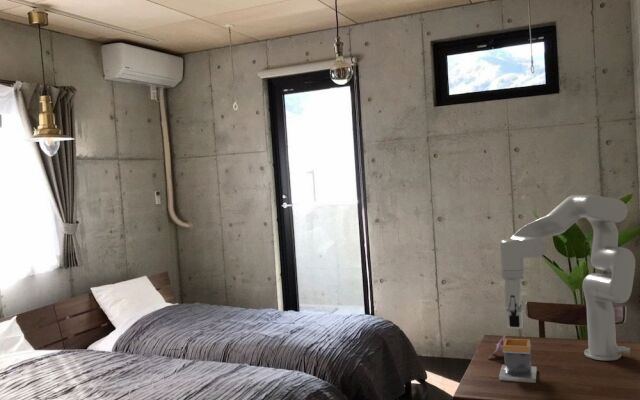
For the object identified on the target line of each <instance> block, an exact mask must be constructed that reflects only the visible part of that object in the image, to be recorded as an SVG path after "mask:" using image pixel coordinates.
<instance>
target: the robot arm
mask: <svg viewBox="0 0 640 400" xmlns="http://www.w3.org/2000/svg"><path fill="white" fill-rule="evenodd" d="M628 213H629V211H628V205H626V203H625V202H624V201H622V200H620V199H618V198H613V197H606V196H601V195H597V194H572V195H569V196H568V197H566V198H565V199H564V200H562V202H561V203H559V204H558V205H556V207H555V208H554V209H552V210H551V211H550V212H549V213H548V214H546V215H545V216H542V217H540V218H538V219H536V220H534V221H531V222H529V223H527V224H526V225H524V226H522V227H521V228H520V229H519V230H517V231H516V232H515V233H514V234H513V235H512V236H511V237H510V238H505V239H502V240H501V241H500V244H499V246H500V247H499V248H500V249H499V250H500V266H501V267H500V268H501V269H500V271H501V279H502V280H504V306H505V307H506V308H507V306H509V308H510V315H509V321H510V327H519V315H518V307H520V306H521V301H522V300H521V299H522V285H521V284H522V282H521V281H522V280H523V279H525V272H524V269H525V268H524V259H531V260H532V259H534V260H535V259H539V258H541V257H542V256H544V255H545V253H546V250H547V246H546V243H545V242H544V240H542V239H545V238H550V237H554V236H555V237H556V236H559V235H561V234H564V233H565V232H566V231H567V230H568V229H570V228H571V227H572V226H573V225H574V224H575V223H576V222H578V221H579V220H580V219H581V218H586V219H587V221H588V222H589V223H590V225H591V227H592V231H593V235H592V236H593V237H592V243H591V245H592V246H591V251H590V265H591V266H592V267H593V268H594V269H596V270H599V271H604V272H611V274H604V273H599V272H594V273H589V274H587V275H585V277H584V279H583V281H582V291H583V294H584V300H585V304H586V305H585V306H586V324H587V325H586V326H587V328H586V329H587V342H588V343H587V344H588V345H587V346H588V348H585V350H584V352H583V355H584V356H585V357H587V358H589V359H592V360H596V361H597V360H598V361H604V362H605V361H608V362H610V361H616V360H619V359H621V357H622V353H624V354H631V348H630V347H626V346H624V345H623V346H619V345H618V344H617V340H616V337H617V335H616V317H615V315H616V314H615V308H614V305H613V303H615V304H616V303H617V304H623V303H626V302H627V301H628V300H629V299H630V297H631V294H632V290H633V284H634V276H635V271H636V258H635V255H634V253H633V252H632V251H631V250H630V249H628V248H627V247H626V248H625V247H623V246H622V247H621V246H620V247H619V245H618V244H619V243H618V242H619V230H618V228H617V225H616V223H621V222H622V221H624V220H625V219H626V218H627V216H628ZM515 306H517V307H515Z"/></svg>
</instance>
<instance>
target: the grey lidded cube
mask: <svg viewBox="0 0 640 400" xmlns="http://www.w3.org/2000/svg"><path fill="white" fill-rule="evenodd" d="M515 307H517V306H515ZM505 312H506V328H507V329H515V330H517V329H518V330H519V329H520V330H522V329H523V327H524V319H523V305H520V307H518V315H519V327H510V321H509V315H510V308H509V306H507V307H506V311H505Z"/></svg>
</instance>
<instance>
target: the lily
mask: <svg viewBox="0 0 640 400" xmlns="http://www.w3.org/2000/svg"><path fill="white" fill-rule="evenodd" d="M508 334H509V333H508V332H507V334H506V335H503V336H502V338H500V340H499V342H495V343H493V344H494V345H496V349H495V350H493V351H492V353H491V354H490V355H489V357H488V359H490V357H491V356H492V355H494V353H496V352H501V351H503V344H504V340H505V339H506V337H507V335H508ZM488 359H487V360H488Z"/></svg>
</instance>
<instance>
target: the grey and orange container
mask: <svg viewBox="0 0 640 400" xmlns="http://www.w3.org/2000/svg"><path fill="white" fill-rule="evenodd" d="M531 349H532V344H531V339H523V338H521V339H520V338H504V344H503V350H502V353H503V360H504V364H503V363H502V364H501V367H500V371H499V375H498V377H499V378H498V379H499V381H506V382H519V383H520V382H522V383H535V384H536V382H537V370H538V368H537V366H534V365H533V366H532V356H531Z"/></svg>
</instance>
